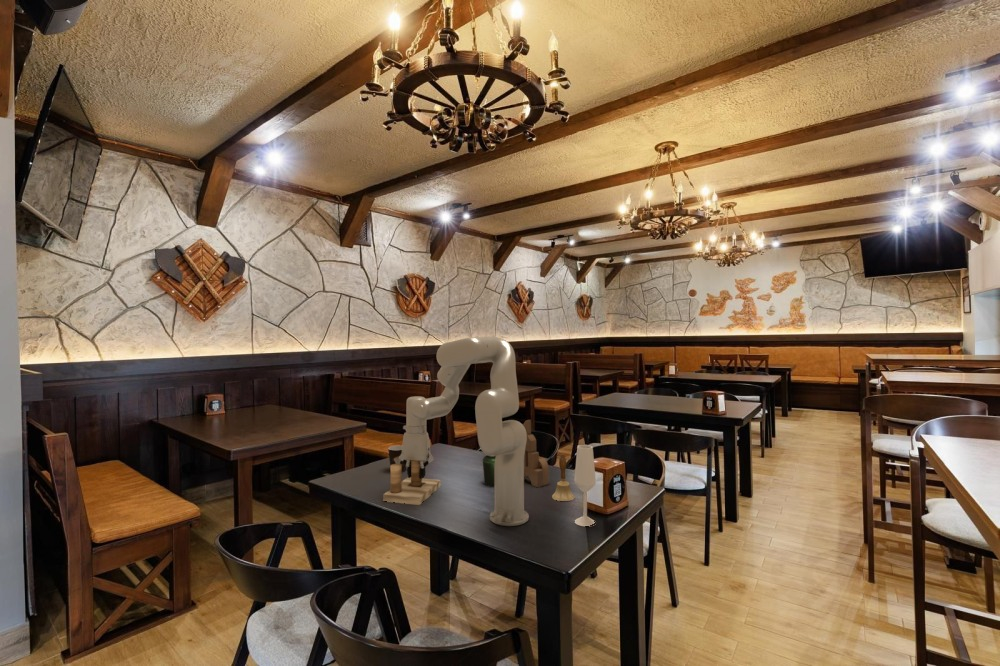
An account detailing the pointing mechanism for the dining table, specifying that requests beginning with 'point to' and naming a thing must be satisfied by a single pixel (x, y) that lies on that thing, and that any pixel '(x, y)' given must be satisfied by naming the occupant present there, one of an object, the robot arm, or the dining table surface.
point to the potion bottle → (489, 470)
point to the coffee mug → (396, 456)
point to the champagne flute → (584, 478)
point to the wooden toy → (534, 461)
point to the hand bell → (563, 484)
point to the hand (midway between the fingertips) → (416, 476)
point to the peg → (415, 474)
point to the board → (408, 488)
